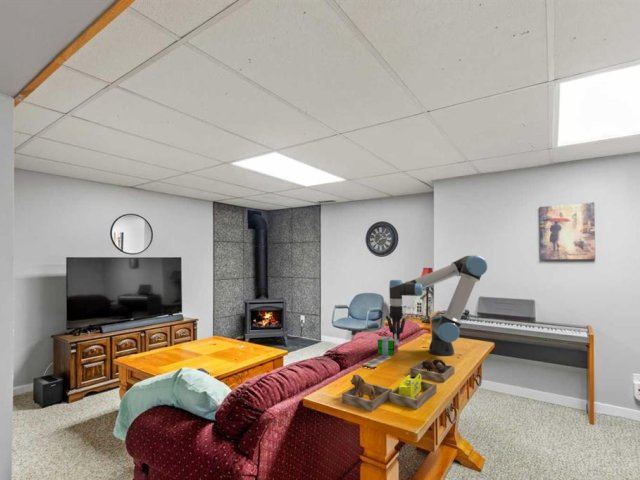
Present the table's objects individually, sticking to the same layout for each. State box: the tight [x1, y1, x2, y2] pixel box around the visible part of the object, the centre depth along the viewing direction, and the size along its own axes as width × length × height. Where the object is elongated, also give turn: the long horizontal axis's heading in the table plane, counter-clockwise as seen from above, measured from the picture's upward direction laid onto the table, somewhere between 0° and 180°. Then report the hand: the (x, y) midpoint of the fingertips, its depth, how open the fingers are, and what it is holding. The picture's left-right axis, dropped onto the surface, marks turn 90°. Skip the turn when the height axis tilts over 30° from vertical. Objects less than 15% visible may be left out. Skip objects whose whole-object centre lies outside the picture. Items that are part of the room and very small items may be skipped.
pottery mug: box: [422, 358, 447, 374], centre depth 176 cm, size 12×10×8 cm
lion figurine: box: [349, 373, 376, 401], centre depth 143 cm, size 15×5×9 cm, turn 44°
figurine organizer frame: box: [341, 382, 393, 412], centre depth 143 cm, size 14×17×4 cm
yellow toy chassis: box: [398, 373, 422, 399], centre depth 147 cm, size 16×6×8 cm, turn 148°
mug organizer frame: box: [409, 360, 456, 383], centre depth 175 cm, size 17×17×4 cm
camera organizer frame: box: [388, 380, 437, 410], centre depth 146 cm, size 12×22×4 cm, turn 142°
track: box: [361, 355, 393, 370], centre depth 193 cm, size 7×23×2 cm, turn 142°
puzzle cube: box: [377, 336, 399, 356], centre depth 211 cm, size 10×10×10 cm
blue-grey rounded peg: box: [381, 338, 390, 358], centre depth 201 cm, size 4×4×11 cm
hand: (396, 344), depth 206 cm, fingers closed
